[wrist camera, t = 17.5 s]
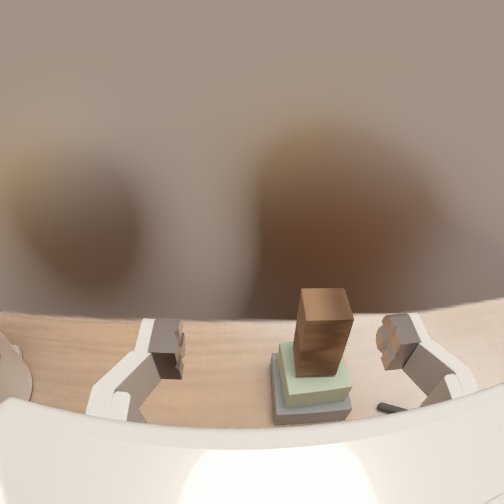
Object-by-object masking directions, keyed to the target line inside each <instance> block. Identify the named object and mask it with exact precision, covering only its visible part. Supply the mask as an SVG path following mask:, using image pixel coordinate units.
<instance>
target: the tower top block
mask: <svg viewBox="0 0 504 504" xmlns="http://www.w3.org/2000/svg"><path fill="white" fill-rule="evenodd" d="M293 343H294V342H283V343H280V344H279V351H278V357H277V362H278V368H279V373H280V379H281V385H282V391H283V397H284V403H285V409H287V408H296V407H305V406H313V405H320V404H327V403H334V402H340V401H344V400H345V399H346V397H347V395H348V393H349V392H350V390H351V388H352V384H351V380H350V377H349V374H348V371H347V368H346V364H345V361H344V358H343V356H342V359H341V361H340V364H339V367H338V370H337V373H336V375H331V376H310V377H296V372H295V361H294V351H293Z"/></svg>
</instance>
